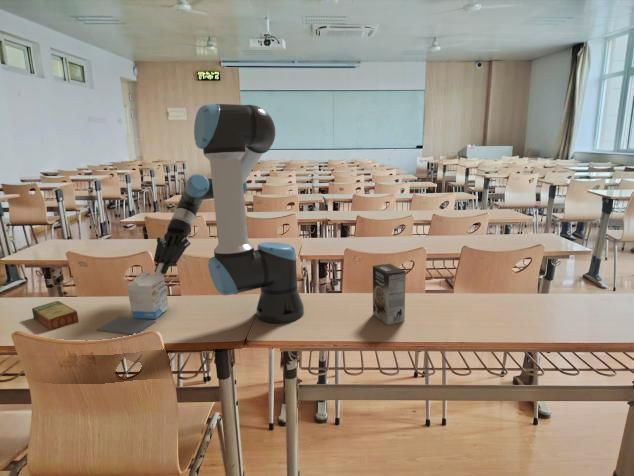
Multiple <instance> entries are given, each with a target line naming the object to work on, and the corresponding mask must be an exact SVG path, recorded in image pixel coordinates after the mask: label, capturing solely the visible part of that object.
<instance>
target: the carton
mask: <svg viewBox="0 0 634 476" xmlns="http://www.w3.org/2000/svg"><path fill="white" fill-rule="evenodd" d="M31 310H32V316H33V319H34V320H35V321H37V322H38V323H40V324H41V325H42V326H44V327H45V328H46V329H48V330H49V331H51V332H52V331H55V330H58V329H61V328H64V327H68V326H70V325H73V324H74V325H75V324H76V323H79V317H78V311H77V310H75V309H73V308H72V307H70V306H68V305H67V304H65V303H63V302H61V301H60V300H55V301H52V302H49V303H45V304H42V305H39V306H35V307H32V309H31Z"/></svg>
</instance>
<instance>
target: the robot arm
mask: <svg viewBox="0 0 634 476" xmlns="http://www.w3.org/2000/svg"><path fill="white" fill-rule="evenodd" d="M274 122H275V121H274V120H273V118H272V117H271V115H270V114H269V113H268V112H267V110H265V109H263V108H262V107H260V106H258V105H254V104H231V103H230V104H229V103H214V104H213V103H212V104H211V103H210V104H204V105H201V106H200V107H199V108H198V110H197V112H196V114H195V119H194V124H193V125H194V127H193V128H194V129H193V135H194V141H195V145H196V147H197V148H198V149H200V150H203V152H202V153H203V156H204V157H206V159H208V160H209V164H210V165H209V166H210V172H211V177H208V178H207V177H206V176H205V175H203V174H199V173H196V174H195V173H194V174H192V175H190V177H189V178H188V179H187V180H186V182H185V185H184V189H183V190H182V193H181V196H180V199H179V201H178V203H177V206H176V208H175V210H174V212H173V214H172V217H171V220H170V222H169V224H168V226H167V229H166V230H167V231H166V233H165V234H164V236H163V237H161V238H160V237H157V238H156V242H157V244H156V248H155V253H154V256H153V257H154V258H153V262H154V263H156V264H157V265H156V267H155V269H154V274H153V276H164V275H166V274H167V272H168V269H169V268H170V266H175V265H176V264H177V263H178V261H179V260H180V258H181V256H182V255H183V253H184V252H185V250H186V249H187V248H188V247H189V246H190V245H191V242H190V241H189V240H188V236H189V233H190V231H191V227H192V226H193V223H194V221H195V218H196V216H197V214H198V211H199V210H200V207H201V205H202V203H203V201H204V200H213V201H214V202H213V203H214V212H215V213H214V214H215V222H216V233H217V241H218V243H217V246H216V247H214V249H213V254H214V256H212V257H210V258H209V259H208V271H209V276H210V279H211V281H212V283H213V286H214V287H215V289H216V291H217V292H218V293H219V294H220V295H223V296H230V295H238V294H239V293H244V292H248V291H253V290H257V289H258V290H259V289H260V295H259V298H258V302H257V306H256V318H258V320H260V321H262V322H265V323H269V324H270V323H271V324H285V323H289V322H290V323H291V322H294V321H295V320H298V319H300V318H301V317H303V316H304V313H305V309H304V308H305V307H304V303H303V300H302V298H301V295H300V293H299V290H298V276H297V275H298V273H297V270H298V269H297V261H298V259H297V253H296V249H295V247H294V246H293V245H291V244H288V243H284V242H274V241H273V242H269V241H268V242H267V241H265V242H261V243H258V244H257V249H255V248H254V247H255V246H254V245H253V244H252V243H250V241H249V238H248V237H249V235H248V227H247V225H248V223H247V217H246V216H247V215H246V213H247V212H246V203H245V194H246V192H247V188H248V186H247V185H248V184H247V179H248V178H249V176H250V174H251V173H252V171H253V170H254V168H255V166H256V165H257V164H258V161H259V160H260V158H261V157H262V155H264V154H265V153H267V152H269V150H270V148H271V147H272V146H273V144H274V143H275V139H276V126H275V123H274ZM164 277H165V276H164Z"/></svg>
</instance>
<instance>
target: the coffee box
mask: <svg viewBox="0 0 634 476" xmlns="http://www.w3.org/2000/svg"><path fill="white" fill-rule="evenodd" d="M406 273H407V271H406V270H404V269H402V268H400V267H398V266H395V265H393V264H392V263H386V264H385V263H384V264H383V263H382V264H376V265H372V314H373V316H375V317H376V318H377V319H379V320H380V321H381V322H383V323H384V324H386V325H387V326H389V325H394V324H398V323H399V324H400V323H403V322H405V315H406V314H405V313H406V312H405V311H406V309H405V308H406V307H405V306H406V275H407V274H406Z"/></svg>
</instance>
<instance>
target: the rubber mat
mask: <svg viewBox="0 0 634 476" xmlns="http://www.w3.org/2000/svg"><path fill="white" fill-rule="evenodd" d="M155 323H156V320H152V319H151V320H150V319H142V318H133V317H132V318H131V317H124V316H118V317H117V318H115V319H112V320H111V321H109V322H107V323H104V325H101V326H100V327H98V328H96V330H97V331H101V332H102V331H103V332H107V333H108V332H109V333H117V334H122V335H123V334H124V335H130V334H134V333H137V334H139V333H141V332H143V331H144V330H146V329H147V328H149V327H150V326H152V325H153V324H155ZM138 332H139V333H138Z"/></svg>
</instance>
